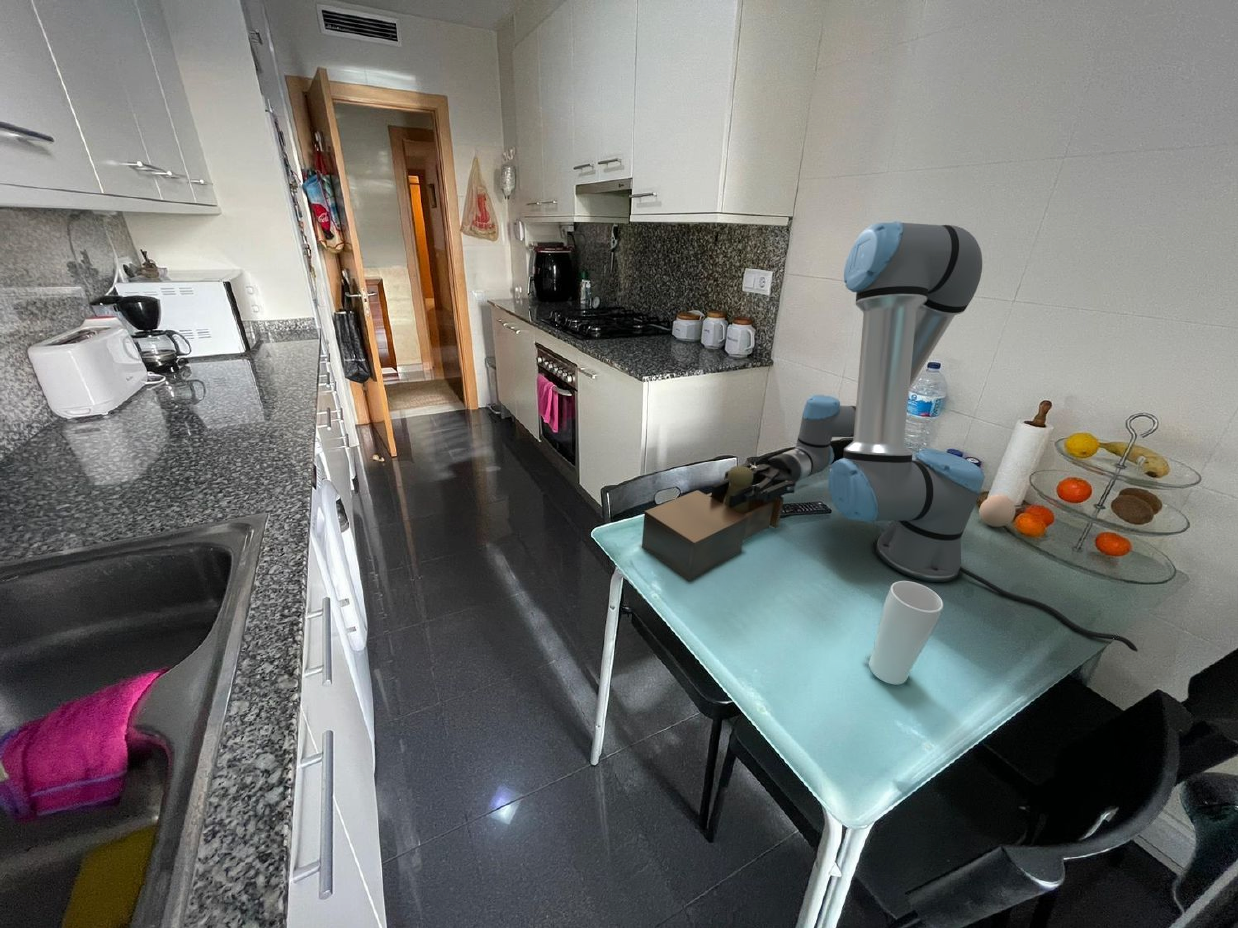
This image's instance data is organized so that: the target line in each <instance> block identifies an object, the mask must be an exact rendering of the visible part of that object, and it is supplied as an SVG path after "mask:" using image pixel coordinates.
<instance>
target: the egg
mask: <svg viewBox="0 0 1238 928" xmlns="http://www.w3.org/2000/svg"><path fill="white" fill-rule="evenodd" d="M978 514H979V517H980V520H981V521H982V522H983V523H984V524H986V525H987V526H989V527H994V528H1001V527H1005V526H1007V525H1009V524H1010V523H1011V522H1012V521H1013V520H1014V518H1015V516H1016V505H1015V504H1014V501H1013V500H1012V499H1011V497H1009V496H1007V495H1004V494H994V495H991V496H989V497H988V498H986V499H985V500H983V502H982V503H981V505H980V507H979V510H978Z"/></svg>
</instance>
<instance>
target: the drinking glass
mask: <svg viewBox="0 0 1238 928" xmlns="http://www.w3.org/2000/svg"><path fill="white" fill-rule="evenodd" d="M943 609H944V602H943V600H942V598H941V597H940V595H939V594H938V593H937V592H935V591H934V590H933V589H931V588H930V587H927V586H926V585H924V584H921V583H918V582H914V581H910V580H899V581H895V582H894V583H891V586H890V588H889V590H888V592H887V594H886V598H885V600H884V602H883V607H882V609H881V612H880V618H879V622H878V625H877V630H876V635H875V639H874V640H875V641H874V644H873V647H872V652H871V655H870V657H869V661H868V665H869V669H870V671H871V672H872V674H873V675H874V676H875V677H876V678H877V679H879V681H880V680H881V681H882V682H884V683H886V684H889V685H895V686H896V685H897V686H899V685H902V684H904V683H906V681H907V680H908V677H909V675H910V673H911V671H912V669H913V668H914V665H915V664H916V662H917V661H918V659H919V657H920V655H921V654H922V652H923V650H924V648H925V647H926V645H927V644H928V643H929V640H930V638H931V637H932V635H933V633H934V631H935V629H936V627H937V625H938V622H939V620H940V617H941V614H942V611H943Z"/></svg>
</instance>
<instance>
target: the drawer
mask: <svg viewBox="0 0 1238 928" xmlns="http://www.w3.org/2000/svg"><path fill="white" fill-rule="evenodd" d="M754 486H755V485H753V484H752V483H751V484H750V485H749V487H752V488H753V490H754ZM711 494H712V492H710V493H707V494H706V495H708V496H710V497H711ZM725 495H726V493H725V494H723V495H721V496H718V497H716V498H713V499H715V500H717V501H719V502H721V503H723V501H724V498H725ZM711 498H712V497H711ZM784 499H785V498H784V497H783V496H780V497H778V498H775V499H773V500H771V501H768V502H766V503H764V502H762V501H761V499H758V500H752V501H750V502H749V510H748V513H747V514H744V515H745V516H747V517H748V519H747V524H746V530H745V535H744V540H743V542H745V541H747V540H749V539H750V538H752V537H754V536H756V535H758V534H760V533H762V532H764V531H765V530H767V529H769V528H770V527H772V528H773V529H776V528H778V527H779V524H780V519H781V515H782V510H783V505H784V501H785V500H784Z"/></svg>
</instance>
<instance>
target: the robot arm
mask: <svg viewBox="0 0 1238 928" xmlns="http://www.w3.org/2000/svg"><path fill="white" fill-rule="evenodd" d="M982 254H983V253H982V250H981V247H980V245H979V243H978V241H977V239H976V238H975V236H974V235H973V234H972V233H971V232H969V231H968V230H967V229H964V228H963V227H961V226H958V225H952V224H928V223H927V224H926V223H913V222H901V221H893V222H875V223H873V224H871V225H869V226H868V227H866V228H865V229H864V230H863V231H862V232H861V233H860V234H859V235H858V236H857V238H856V239H855V241H854V242H853V244H852V246H851V248H850V251H849V253H848V255H847V258H846V262H845V266H844V270H843V281H844V284H845V288H846V289H847V290H849V291H850V292H852V293H855V306H856V307H857V308H858V310H860V311H861V313H862V314H863V315H862V326H861V327H862V329H861V342H860V353H859V365H858V366H859V367H858V375H857V376H858V377H857V389H856V400H855V401H856V403H855V405H841V401H840V400H839V399H838V398H836V397H834V396H830V395H825V394H813V395H810V396H809V397H808V398H807V399H806V401H805V404H804V408H803V411H802V414H801V420H800V426H799V431H798V432H799V433H798V436H797V440H796V443H795V447H794V448H791V449H789V450H787V451H785V452H782V453H780V454H777V455H774V456H772V457H770V458H769V459H768V460H766V461H765V463H763V464H762V463H761V464H758V465H754V464H752V461H751V460H746V461H745V462H744V463H743V464H740V465H739V466H744V467H747V468H749V469H750V470H752V472H753V481H752V483H751V484H754V485H753V486H754V490H753V488H752V487H748V488H745V489H743V490H741V491H738V492H736V493H734V494H731V495H730V500H729V507H731V508H732V507H734V506H737V505H739V504H741V503H743V502H750V501H752V500H758V499H761V501H762V502H764V503H766V502H768V501H771V500H773V499H775V498H778V497H780V496H781V497H783V496H785V495H789V494H794V493H795V489H796V485H797V483H798V482H801V481H802V480H804V479H806V478H808V477H811V476H812V475H815V474H818V473H820V472H822V471H824V470H825V469H826V468H828V467H830V466H831V468H830V469H829V473H828V490H829V494H830V497H831V501H832V502H833V504H834V506H835V508H836V510H837V511H838V512H839V513H840V514H841V515H842V516H843V517H844V518H847V519H848V520H851V521H864V522H867V523H871V522H876V521H877V522H879V521H880V522H882V521H883V522H885V521H887V522H888V521H889V522H890V521H891V523H890V524H889V525H888V526H887V528H886V529H885V530H884V531H883V532H882V533H881V535H880V536H879V537H878V540H877V543H876V547H875V551H876V555H878V557H879V558H880V560H882V562H884V563H885V564H886V565H887V566H889V567H890V568H892V569H893V570H895V571H897V572H899V573H901V574H902V575H905V576H908V577H910V578H913V579H917V580H920V581H925V582H930V583H947V582H951V581H954V580H955V579H956V578H957V577H958V575H959V574H960V573H962V574H964V575H966V576H968V577H970V578H972V579H974V580H976V581H978V582H979V583H981V584H983V585H985V586H986V587H988V588H989V589H992V590H993V591H995V592H997V593H998V594H1000V595H1003V596H1005V597H1008V598H1010V599H1013V600H1015V601H1019V602H1023V603H1027V604H1031V605H1033V606H1036V607H1039V608H1041V609H1044V610H1045V611H1047V612H1049V613H1050V614H1052V615H1054V616H1055V617H1057V619H1059V620H1061V621H1062V622H1063V623H1064V624H1066V625H1067V626H1069V627H1070V628H1072V629H1073V630H1075V631H1077V632H1079V633H1081V634H1083V635H1086V636H1089V637H1092V638H1097V639H1104V640H1113V641H1117V642H1121V643H1123V644H1124V645H1126V646H1127V648H1129V650H1132V651H1134V652H1139V651H1138V648H1137V646H1136V645H1135V644H1134V643H1133V642H1132V641H1131V640H1130V639H1128V638H1126V637H1124V636H1122V635H1117V634H1112V633H1105V632H1096V631H1092V630H1089V629H1086V628H1084V627H1082V626H1080V625H1077V624H1076V623H1074V622H1073V621H1072V620H1070V619H1069V618H1068V617H1066V616H1065V615H1064V614H1062V613H1061V612H1060V611H1058V610H1056V608H1054V607H1051V606H1049V605H1048V604H1046V603H1044V602H1042V601H1038V600H1036V599H1032V598H1028V597H1026V596H1025V597H1024V596H1021V595H1018V594H1015V593H1011V592H1009V591H1007V590H1004V589H1003V588H1000V587H999V586H997V585H996V584H993V583H992V582H990V581H988V580H987V579H985V578H983V577H981V576H979V575H977V574H975V573H973V572H971V571H969V570H967V569H965V568H963V567H962V542H961V541H962V536H963V534H964V531H965V529H966V527H967V525H968V522H969V520H970V517H971V515H972V514H973V513H972V512H973V511H974V508H975V507H976V504H977V501H978V499H979V497H980V494H982V488H983V484H984V482H985V477H986V476H985V473H984V471H983V470H982V469H981V468H980V467H979V466H978V465H976V463H973V462H972V461H969V460H967V459H966V458H963V457H961V456H958V455H955V454H952V453H949V452H946V451H943V450H937V449H932V448H923V449H920V450H919V451H918V452H917V453H916V454H915V459H914V460H913V455H914V454H913V451H912V450H911V449H910V448H909V447H908V446H907V445H906V443H905V437H906V429H907V428H906V426H907V416H908V408H909V407H908V405H909V396H910V395H909V394H910V388H911V387H912V386H913V384H914V383H915V381H916V379H917V378H918V375H919V374H920V372H921V371H922V369H923V368H924V366H925V365H926V362H927V361H928V359H929V358H930V357H931V355H932V353H933V351H934V350H935V349H936V347H937V345H938V343H939V342H940V340H941V339H942V337H943V336H944V334H945V333H946V331H947V329H948V327H949V326H950V324H951V323H952V321H953V319H954V318H955V316H958V315H961V314H963V313H964V312H965V311H966V310H967V308H968V306H969V305H970V304H971V302H972V300H973V298H974V296H975V294H976V292H977V290H978V287H979V284H980V281H981V277H982V272H983V255H982ZM833 438H853V439H852V441H851V442H850V443H849V444H848V445H846V446H845V447H844V448H843V457H842V458H840V459H837V460H836V461H834V459H835V453H834V448H833V447H832V445H831V443H832V440H833ZM833 461H834V462H833ZM729 471H730V469H728V470H727V471H725V472H724V478H723V480H720V481H719V482H718V483H716V484H713V485H712V488H711V493H712V494H711V497H712V498H716V497H718V496H721V495H723V494H725V493H726V492H727V489H728V486H729V482H730V481H729V479H728V473H729ZM1113 638H1114V639H1113Z"/></svg>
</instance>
